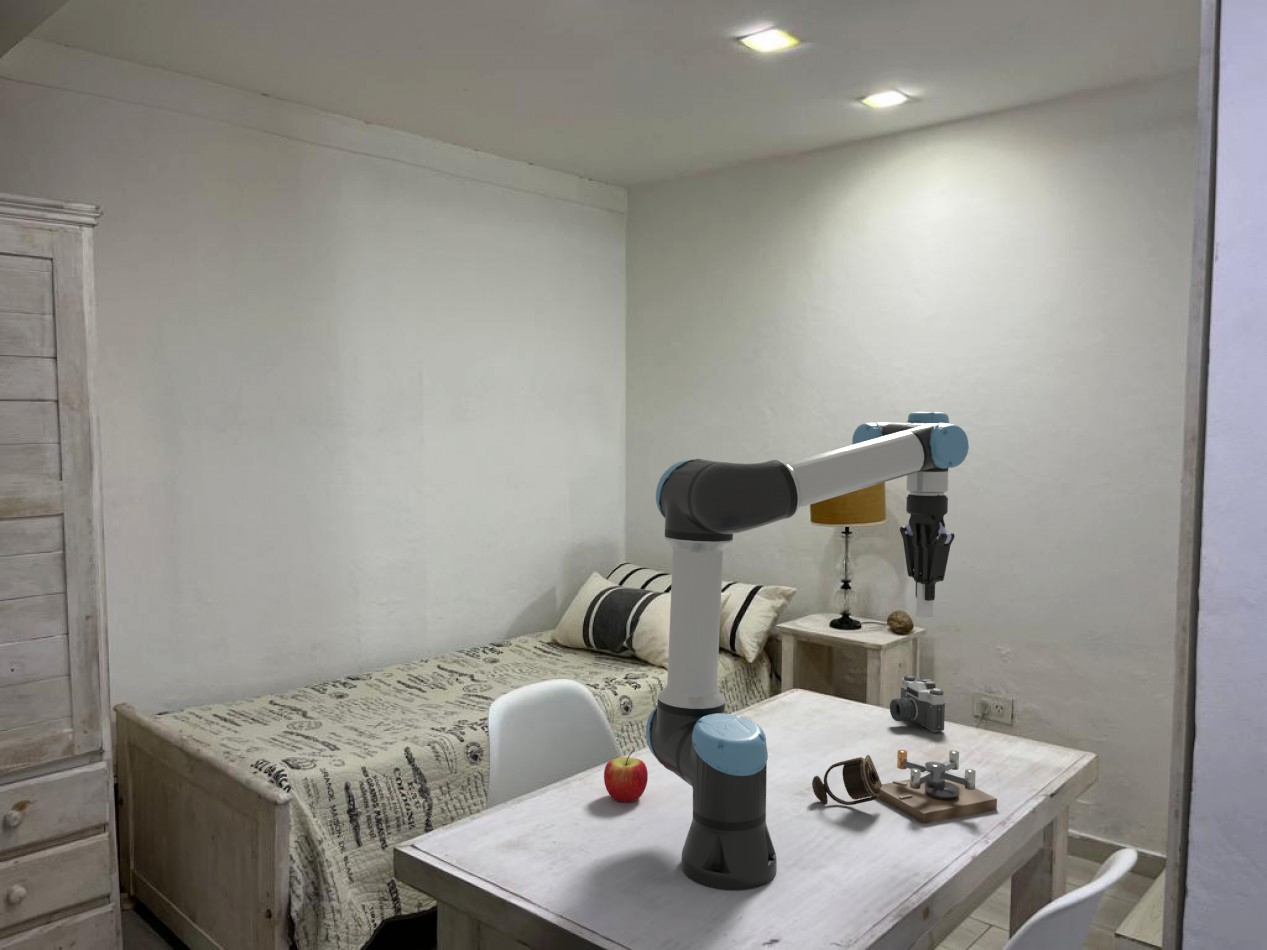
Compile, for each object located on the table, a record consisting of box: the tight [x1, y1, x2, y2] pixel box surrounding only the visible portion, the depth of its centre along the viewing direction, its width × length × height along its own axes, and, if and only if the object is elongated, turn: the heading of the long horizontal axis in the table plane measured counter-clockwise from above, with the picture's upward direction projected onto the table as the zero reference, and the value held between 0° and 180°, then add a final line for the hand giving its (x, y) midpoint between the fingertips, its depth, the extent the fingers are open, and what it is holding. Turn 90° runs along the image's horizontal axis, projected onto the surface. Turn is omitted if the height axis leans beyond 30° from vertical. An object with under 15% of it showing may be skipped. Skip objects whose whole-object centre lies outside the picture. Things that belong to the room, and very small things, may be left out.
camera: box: [889, 674, 946, 733], centre depth 230 cm, size 16×10×10 cm, turn 13°
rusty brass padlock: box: [811, 754, 882, 806], centre depth 179 cm, size 7×13×10 cm, turn 78°
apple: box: [603, 748, 649, 803], centre depth 183 cm, size 8×8×10 cm
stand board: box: [877, 778, 998, 825], centre depth 183 cm, size 17×14×2 cm
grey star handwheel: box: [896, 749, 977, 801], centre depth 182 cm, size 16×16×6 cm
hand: (924, 616), depth 185 cm, fingers closed
